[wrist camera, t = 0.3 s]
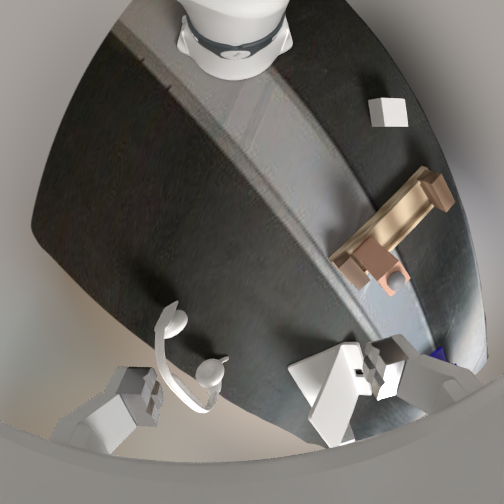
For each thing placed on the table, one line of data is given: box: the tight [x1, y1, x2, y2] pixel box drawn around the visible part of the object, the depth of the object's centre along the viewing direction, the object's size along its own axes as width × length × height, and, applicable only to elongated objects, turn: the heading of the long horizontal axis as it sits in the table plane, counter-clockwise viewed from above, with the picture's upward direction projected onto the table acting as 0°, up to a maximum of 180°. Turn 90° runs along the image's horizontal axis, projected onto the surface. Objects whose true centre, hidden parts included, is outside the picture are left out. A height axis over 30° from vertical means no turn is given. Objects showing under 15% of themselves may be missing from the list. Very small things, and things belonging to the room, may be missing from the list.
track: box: [328, 166, 455, 290], centre depth 47 cm, size 27×7×7 cm, turn 135°
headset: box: [154, 300, 229, 413], centre depth 49 cm, size 20×7×18 cm, turn 24°
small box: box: [339, 423, 355, 446], centre depth 72 cm, size 8×6×10 cm
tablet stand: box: [288, 342, 372, 448], centre depth 59 cm, size 18×25×17 cm
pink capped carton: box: [352, 236, 410, 297], centre depth 44 cm, size 5×5×12 cm
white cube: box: [368, 98, 408, 127], centre depth 39 cm, size 5×5×5 cm
